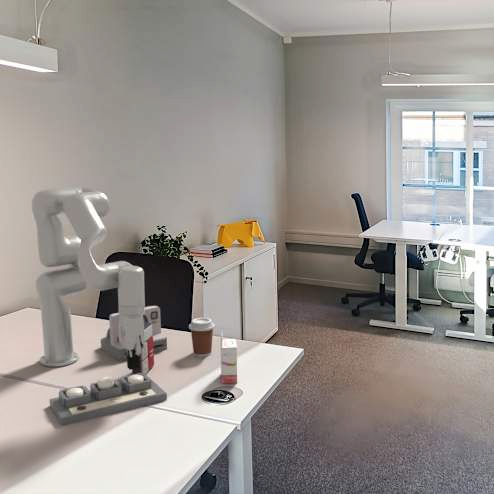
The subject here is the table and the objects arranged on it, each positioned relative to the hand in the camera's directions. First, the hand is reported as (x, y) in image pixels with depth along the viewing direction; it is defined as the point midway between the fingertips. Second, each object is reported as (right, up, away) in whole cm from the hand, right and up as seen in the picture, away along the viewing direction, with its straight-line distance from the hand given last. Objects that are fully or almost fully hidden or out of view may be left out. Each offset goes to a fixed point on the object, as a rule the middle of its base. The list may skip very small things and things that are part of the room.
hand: (133, 367), depth 176 cm
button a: (-15, -7, -9) cm, 19 cm away
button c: (+1, -5, 0) cm, 5 cm away
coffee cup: (+18, -2, +34) cm, 38 cm away
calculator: (0, -5, +18) cm, 18 cm away
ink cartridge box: (+28, -6, +11) cm, 31 cm away
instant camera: (-8, -1, +40) cm, 41 cm away
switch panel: (-6, -9, -5) cm, 12 cm away
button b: (-7, -5, -4) cm, 10 cm away
